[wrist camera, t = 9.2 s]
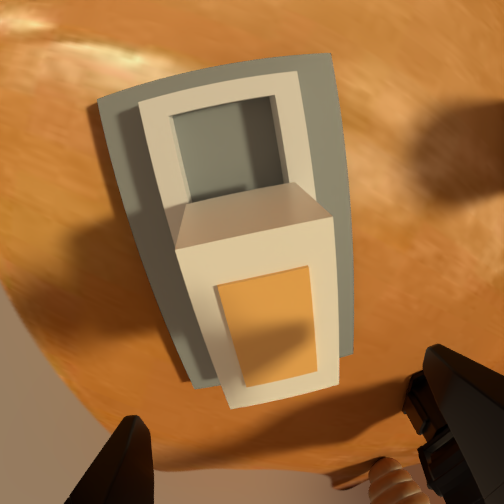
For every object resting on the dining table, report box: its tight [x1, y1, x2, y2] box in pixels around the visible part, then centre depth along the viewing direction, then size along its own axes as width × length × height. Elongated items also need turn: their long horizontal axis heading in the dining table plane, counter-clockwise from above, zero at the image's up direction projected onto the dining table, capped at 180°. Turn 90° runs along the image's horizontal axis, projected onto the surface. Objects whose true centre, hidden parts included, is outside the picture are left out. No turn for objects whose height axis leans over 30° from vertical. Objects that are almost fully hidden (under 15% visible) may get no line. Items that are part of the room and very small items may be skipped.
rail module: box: [175, 182, 339, 409], centre depth 15 cm, size 5×8×7 cm, turn 10°
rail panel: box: [97, 53, 354, 389], centre depth 18 cm, size 12×20×2 cm, turn 10°
